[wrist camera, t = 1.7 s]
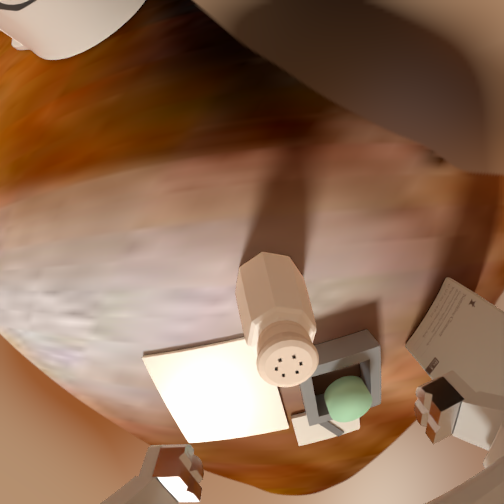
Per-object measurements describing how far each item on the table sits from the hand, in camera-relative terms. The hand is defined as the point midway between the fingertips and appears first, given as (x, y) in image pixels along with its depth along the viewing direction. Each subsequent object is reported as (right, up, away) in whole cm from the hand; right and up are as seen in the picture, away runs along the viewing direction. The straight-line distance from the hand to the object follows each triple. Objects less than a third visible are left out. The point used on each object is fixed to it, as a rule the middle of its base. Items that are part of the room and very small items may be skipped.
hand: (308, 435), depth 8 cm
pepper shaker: (-1, +4, +15) cm, 15 cm away
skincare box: (+17, -1, +16) cm, 24 cm away
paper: (-5, -7, +17) cm, 19 cm away
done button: (+6, -6, +13) cm, 16 cm away
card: (+6, -12, +18) cm, 22 cm away
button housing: (+6, -5, +17) cm, 18 cm away
